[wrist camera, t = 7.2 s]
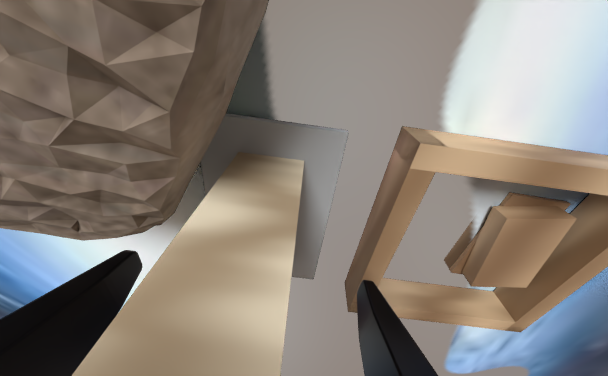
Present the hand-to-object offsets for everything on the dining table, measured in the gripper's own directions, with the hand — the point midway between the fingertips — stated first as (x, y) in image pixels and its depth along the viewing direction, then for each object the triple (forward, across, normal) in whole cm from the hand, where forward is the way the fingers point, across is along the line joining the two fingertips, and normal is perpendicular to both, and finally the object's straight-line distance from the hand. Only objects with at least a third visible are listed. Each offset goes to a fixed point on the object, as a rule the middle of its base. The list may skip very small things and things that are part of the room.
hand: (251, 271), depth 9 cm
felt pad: (+4, 0, 0) cm, 4 cm away
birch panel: (+4, 0, 0) cm, 4 cm away
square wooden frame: (+4, -11, 0) cm, 12 cm away
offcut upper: (+4, -13, 0) cm, 14 cm away
